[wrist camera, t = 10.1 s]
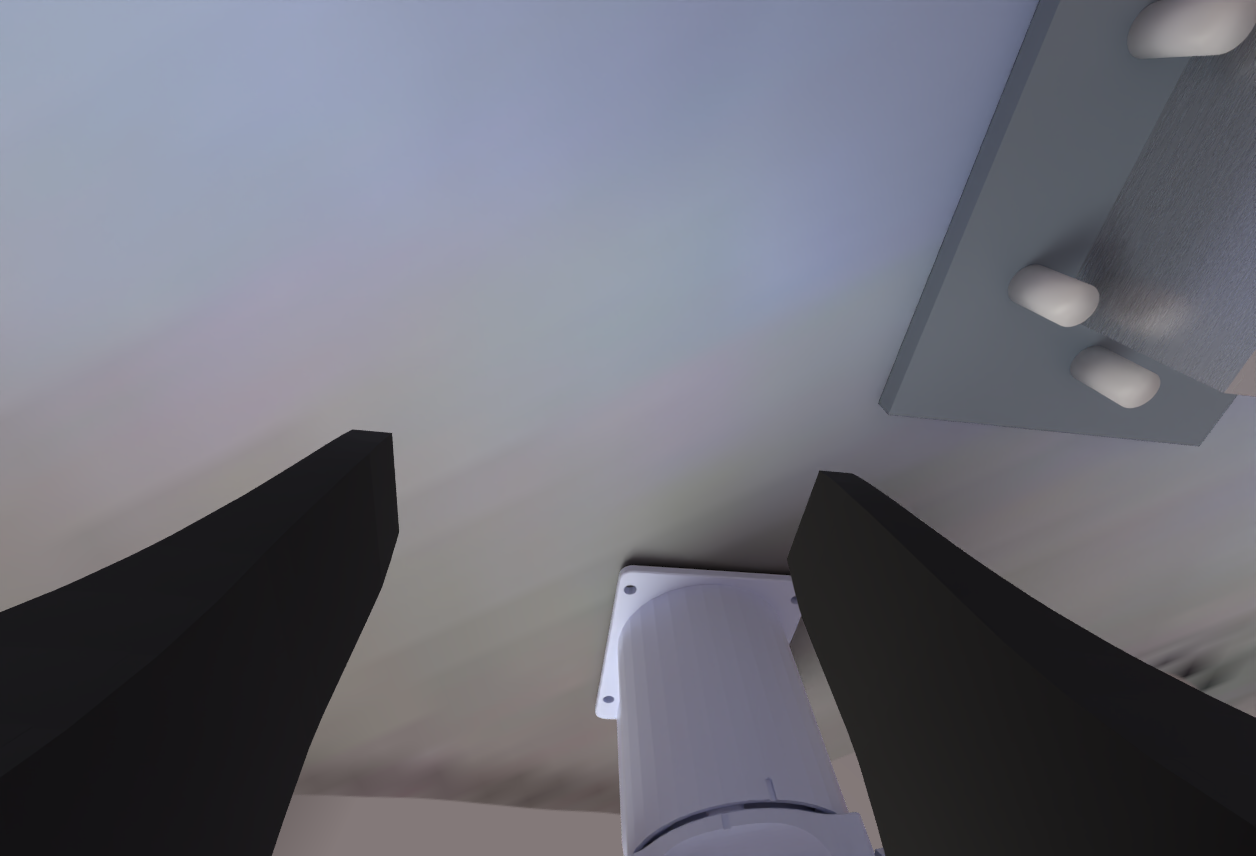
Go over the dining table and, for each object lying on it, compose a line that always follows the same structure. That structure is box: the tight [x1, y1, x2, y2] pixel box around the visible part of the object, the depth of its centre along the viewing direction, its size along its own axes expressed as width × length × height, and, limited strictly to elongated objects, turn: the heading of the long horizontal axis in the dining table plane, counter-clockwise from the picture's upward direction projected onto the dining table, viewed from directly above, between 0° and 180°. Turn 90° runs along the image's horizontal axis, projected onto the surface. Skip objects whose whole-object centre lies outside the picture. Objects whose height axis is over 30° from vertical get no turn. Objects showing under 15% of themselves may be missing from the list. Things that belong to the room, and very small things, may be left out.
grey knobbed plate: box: [878, 0, 1256, 446], centre depth 16 cm, size 16×12×3 cm
